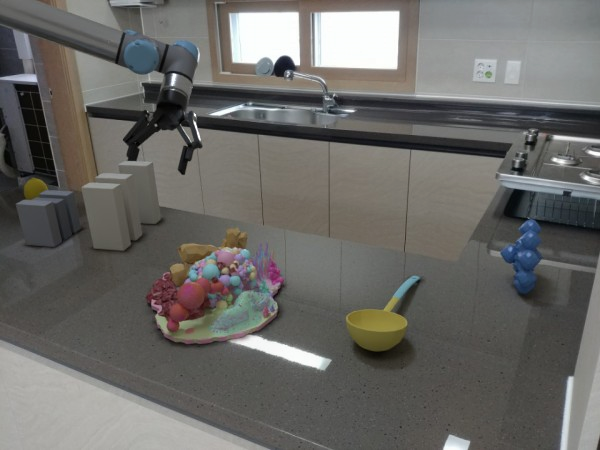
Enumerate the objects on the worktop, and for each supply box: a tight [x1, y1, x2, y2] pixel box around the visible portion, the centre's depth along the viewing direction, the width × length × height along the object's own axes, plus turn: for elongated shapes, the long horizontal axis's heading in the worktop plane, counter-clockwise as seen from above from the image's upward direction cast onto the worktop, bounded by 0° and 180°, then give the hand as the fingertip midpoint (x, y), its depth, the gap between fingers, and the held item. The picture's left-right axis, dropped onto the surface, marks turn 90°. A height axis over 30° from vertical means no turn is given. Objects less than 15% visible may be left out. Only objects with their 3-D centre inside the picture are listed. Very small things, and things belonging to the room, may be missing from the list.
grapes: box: [499, 218, 544, 295], centre depth 91 cm, size 12×7×12 cm, turn 160°
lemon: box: [23, 177, 49, 200], centre depth 133 cm, size 6×6×8 cm
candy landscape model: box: [145, 227, 285, 345], centre depth 90 cm, size 25×24×9 cm
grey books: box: [15, 189, 82, 248], centre depth 117 cm, size 10×7×9 cm
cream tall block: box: [117, 160, 162, 225], centre depth 122 cm, size 3×7×14 cm, turn 77°
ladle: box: [345, 275, 421, 352], centre depth 85 cm, size 9×26×6 cm, turn 153°
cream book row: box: [81, 172, 143, 252], centre depth 112 cm, size 8×7×14 cm
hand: (154, 171), depth 129 cm, fingers open, 13 cm apart
